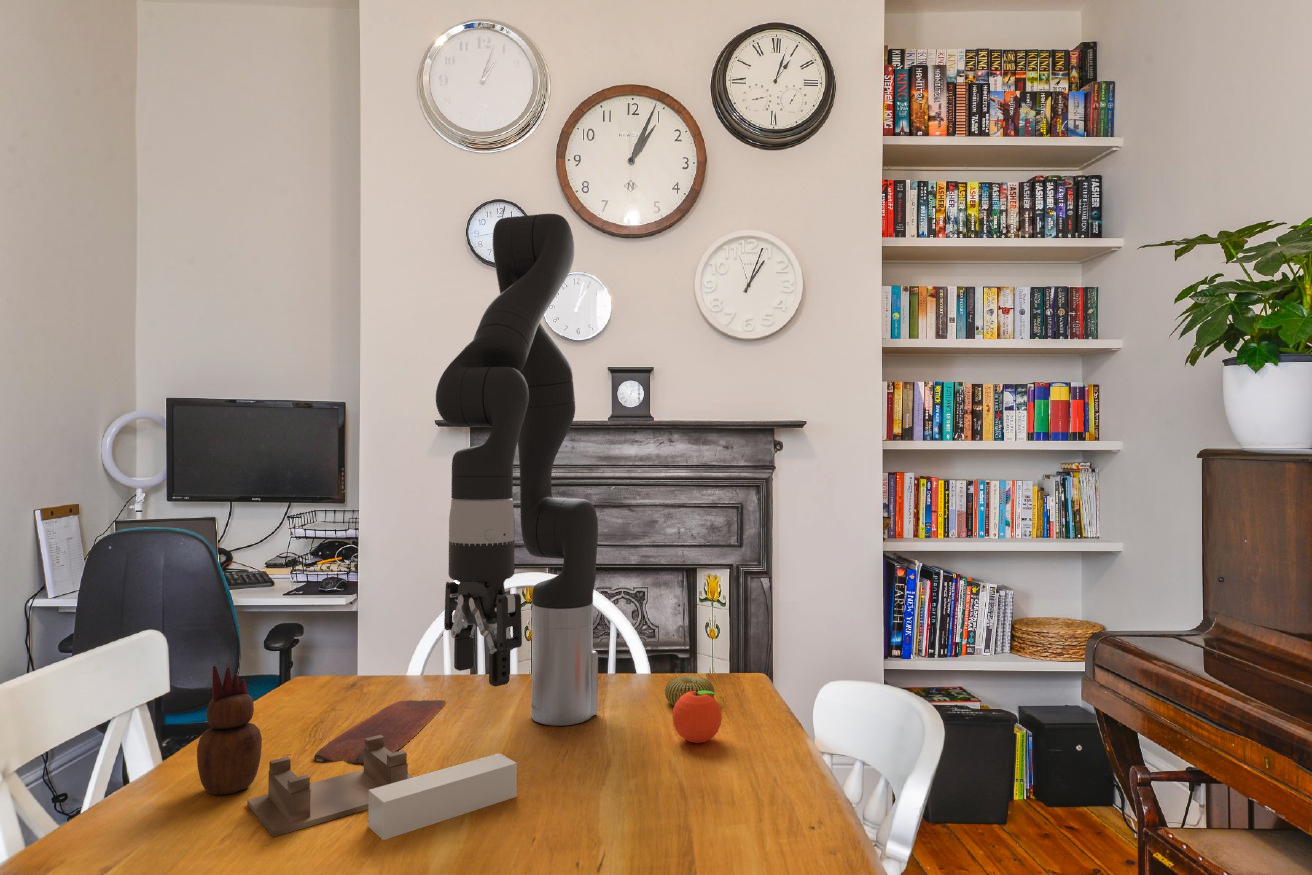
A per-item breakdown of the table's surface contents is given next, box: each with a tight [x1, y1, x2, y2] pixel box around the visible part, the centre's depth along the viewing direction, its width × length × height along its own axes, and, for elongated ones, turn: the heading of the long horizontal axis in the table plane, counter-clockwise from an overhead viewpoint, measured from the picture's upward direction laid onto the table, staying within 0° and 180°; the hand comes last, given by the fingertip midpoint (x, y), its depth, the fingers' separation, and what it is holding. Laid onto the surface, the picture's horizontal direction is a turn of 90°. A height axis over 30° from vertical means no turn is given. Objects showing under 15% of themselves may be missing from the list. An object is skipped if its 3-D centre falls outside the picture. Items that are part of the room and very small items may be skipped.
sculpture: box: [664, 675, 715, 707], centre depth 128 cm, size 8×4×8 cm
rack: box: [246, 735, 414, 838], centre depth 92 cm, size 17×10×5 cm, turn 131°
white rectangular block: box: [367, 752, 518, 841], centre depth 89 cm, size 16×4×4 cm, turn 131°
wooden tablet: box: [314, 699, 447, 766], centre depth 116 cm, size 27×10×2 cm, turn 174°
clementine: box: [671, 690, 726, 744], centre depth 111 cm, size 8×7×7 cm
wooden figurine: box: [196, 665, 263, 795], centre depth 95 cm, size 7×6×15 cm
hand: (480, 676), depth 93 cm, fingers open, 8 cm apart
